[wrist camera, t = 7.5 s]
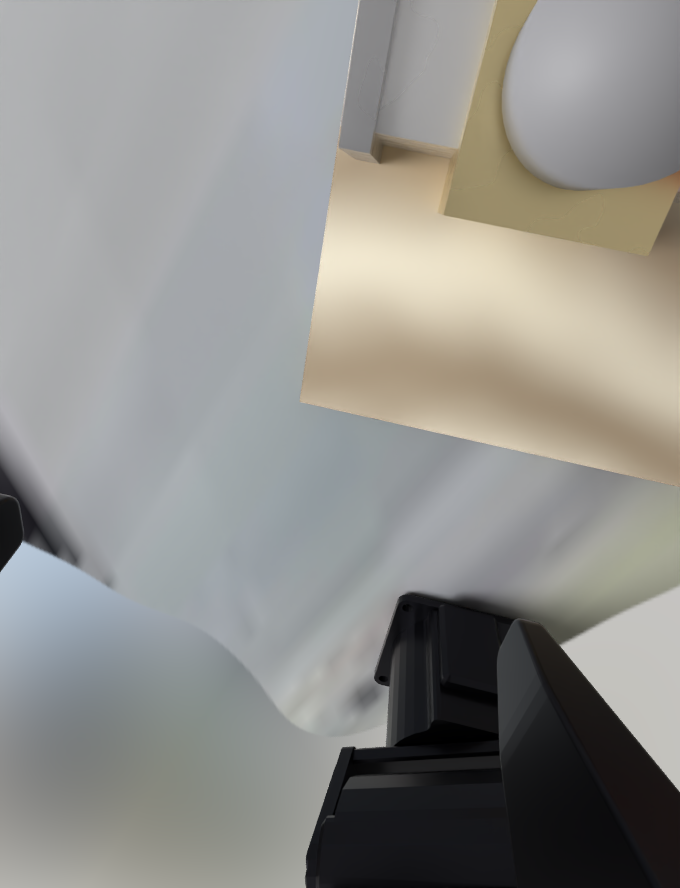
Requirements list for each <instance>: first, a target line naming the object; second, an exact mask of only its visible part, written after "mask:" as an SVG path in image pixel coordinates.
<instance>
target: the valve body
mask: <svg viewBox="0 0 680 888" xmlns="http://www.w3.org/2000/svg"><path fill="white" fill-rule="evenodd" d="M537 1H538V0H359V6H358V13H357V19H356V26H355V33H354V40H353V46H352V53H351V60H350V66H349V73H348V80H347V87H346V93H345V100H344V107H343V114H342V120H341V132H340V139H339V146H338V148H340V149H341V150H342V151H344V152H345V153H347V154H348V155H350V156H351V157H352V158H354V159H356V160H361V161H366V162H372V163H377V164H380V160H381V155H382V149H383V146H388V147H393V148H398V149H404V150H409V151H414V152H419V153H424V154H429V155H434V156H439V157H444V158H449V159H450V163H449V167H448V171H447V175H446V179H445V183H444V187H443V191H442V195H441V199H440V204H439V208H438V212H437V213H439V214H442V215H445V216H450V217H454V218H459V219H464V220H469V221H474V222H479V223H484V224H489V225H494V226H499V227H504V228H509V229H514V230H519V231H524V232H529V233H534V234H539V235H544V236H549V237H554V238H559V239H564V240H569V241H574V242H579V243H583V244H588V245H593V246H598V247H603V248H608V249H613V250H618V251H623V252H628V253H633V254H638V255H643V256H648V255H649V253H650V251H651V249H652V246H653V244H654V242H655V240H656V238H657V235H658V233H659V231H660V229H661V227H662V224H663V222H664V220H665V218H666V216H667V213H668V211H669V209H670V207H671V205H672V202H674V203H679V204H680V170H679V171H677V172H676V173H674V174H671V175H669V176H667V177H664V178H662V179H660V180H657V181H654V182H650V183H647V184H644V185H638V186H633V187H626V188H613V189H600V190H585V191H574V190H565V189H561V188H557V187H554V186H551V185H549V184H547V183H545V182H543V181H541V180H540V179H538V178H537V177H535V176H534V175H532V174H531V173H530V172H529V171H528V170H527V169H526V168H525V167H524V166H523V165H522V163H521V162H520V161H519V160H518V158H517V156H516V155H515V153H514V151H513V150H512V148H511V145H510V143H509V140H508V138H507V135H506V131H505V127H504V123H503V115H502V88H503V80H504V75H505V70H506V65H507V62H508V59H509V56H510V53H511V50H512V47H513V45H514V43H515V41H516V38H517V36H518V34H519V32H520V30H521V28H522V27H523V25H524V23H525V21H526V20H527V18H528V16H529V14H530V13H531V11H532V9H533V8H534V6H535V4H536V3H537Z"/></svg>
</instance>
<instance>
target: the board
mask: <svg viewBox="0 0 680 888" xmlns="http://www.w3.org/2000/svg"><path fill="white" fill-rule="evenodd" d="M358 6H359V4H358ZM357 13H358V10H357ZM356 19H357V17H356ZM355 26H356V24H355ZM354 33H355V31H354ZM353 40H354V37H353ZM352 46H353V44H352ZM351 53H352V51H351ZM350 60H351V58H350ZM349 66H350V64H349ZM348 73H349V71H348ZM347 80H348V78H347ZM346 87H347V85H346ZM345 93H346V92H345ZM344 100H345V98H344ZM343 107H344V105H343ZM342 114H343V112H342ZM341 120H342V119H341ZM340 132H341V125H340ZM340 132H339V139H340ZM339 139H338V146H339ZM338 146H337V152H336V159H335V166H334V173H333V179H332V186H331V193H330V200H329V206H328V213H327V220H326V227H325V233H324V240H323V247H322V254H321V260H320V267H319V274H318V281H317V287H316V294H315V301H314V308H313V314H312V321H311V328H310V335H309V341H308V348H307V355H306V362H305V368H304V375H303V382H302V389H301V395H300V402H302V403H307V404H311V405H316V406H320V407H325V408H329V409H334V410H338V411H343V412H347V413H352V414H356V415H361V416H365V417H370V418H374V419H379V420H383V421H387V422H392V423H396V424H401V425H405V426H410V427H414V428H419V429H423V430H428V431H432V432H437V433H441V434H446V435H450V436H455V437H459V438H463V439H468V440H472V441H477V442H481V443H486V444H490V445H495V446H499V447H504V448H508V449H513V450H517V451H522V452H526V453H531V454H535V455H540V456H544V457H548V458H553V459H557V460H562V461H566V462H571V463H575V464H580V465H584V466H589V467H593V468H598V469H602V470H607V471H611V472H616V473H620V474H625V475H629V476H633V477H638V478H642V479H647V480H651V481H656V482H660V483H665V484H669V485H674V486H678V487H680V204H679V203H674V202H672V205H671V207H670V209H669V211H668V213H667V216H666V218H665V220H664V222H663V224H662V227H661V229H660V231H659V233H658V235H657V238H656V240H655V242H654V244H653V246H652V249H651V251H650V253H649V255H648V256H643V255H638V254H633V253H628V252H623V251H618V250H613V249H608V248H603V247H598V246H593V245H588V244H583V243H579V242H574V241H569V240H564V239H559V238H554V237H549V236H544V235H539V234H534V233H529V232H524V231H519V230H514V229H509V228H504V227H499V226H494V225H489V224H484V223H479V222H474V221H469V220H464V219H459V218H454V217H450V216H445V215H442V214H439V213H437V212H438V208H439V204H440V199H441V195H442V191H443V187H444V183H445V179H446V175H447V171H448V167H449V163H450V159H449V158H444V157H439V156H434V155H429V154H424V153H419V152H414V151H409V150H404V149H398V148H393V147H388V146H383V149H382V155H381V160H380V164H377V163H372V162H366V161H361V160H356V159H354V158H352V157H351V156H350V155H348V154H347V153H345V152H344V151H342V150H341V149H340V148H338Z"/></svg>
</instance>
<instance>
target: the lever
mask: <svg viewBox="0 0 680 888" xmlns="http://www.w3.org/2000/svg"><path fill="white" fill-rule="evenodd" d="M502 115H503V123H504V127H505V131H506V135H507V138H508V140H509V143H510V145H511V148H512V150H513V151H514V153H515V155H516V156H517V158H518V160H519V161H520V162H521V163H522V165H523V166H524V167H525V168H526V169H527V170H528V171H529V172H530V173H531V174H532V175H534V176H535V177H537V178H538V179H540V180H541V181H543V182H545V183H547V184H549V185H551V186H554V187H557V188H561V189H565V190H574V191H585V190H600V189H613V188H626V187H633V186H638V185H644V184H647V183H650V182H654V181H657V180H660V179H662V178H664V177H667V176H669V175H671V174H674V173H676V172H677V171H679V170H680V0H538V1H537V3H536V4H535V6H534V8H533V9H532V11H531V13H530V14H529V16H528V18H527V20H526V21H525V23H524V25H523V27H522V28H521V30H520V32H519V34H518V36H517V38H516V41H515V43H514V45H513V47H512V50H511V53H510V56H509V59H508V62H507V65H506V70H505V75H504V80H503V88H502Z"/></svg>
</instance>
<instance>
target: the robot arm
mask: <svg viewBox="0 0 680 888" xmlns="http://www.w3.org/2000/svg"><path fill="white" fill-rule="evenodd" d="M23 537H24V529H23V523H22V517H21V512H20V506H19V502H18V501H17V499H16V498H14V497H12V496H9V495H4V494H0V572H1V570H2V569H3V568H4V566H5V565H6V564H7V563H8V561H9V560H10V559H11V557H12V556H13V554H14V553H15V552H16V551H17V549H18V548H19V546H20V545H21V543H22V540H23ZM405 604H409V605H410V606H406V605H405ZM374 679H375V681H376V682H377V683H378V684H381V685H385V686H389V704H388V721H387V739H386V747H376V748H362V749H356V748H355V747H343V748H342V749H341V752H340V755H339V758H338V762H337V764H336V767H335V769H334V772H333V775H332V779H331V781H330V784H329V787H328V790H327V793H326V796H325V799H324V803H323V806H322V809H321V812H320V815H319V818H318V821H317V824H316V827H315V830H314V833H313V836H312V839H311V842H310V845H309V848H308V851H307V855H306V868H307V870H306V876H305V884H306V888H680V792H679V791H678V789H677V788H676V787H675V786H674V784H673V783H672V782H671V781H670V780H669V778H668V777H667V776H666V775H665V773H664V772H663V771H662V770H661V769H660V767H659V766H658V765H657V764H656V763H655V761H654V760H653V759H652V758H651V756H650V755H649V754H648V753H647V752H646V750H645V749H644V748H643V747H642V745H641V744H640V743H639V742H638V741H637V739H636V738H635V737H634V736H633V734H632V733H631V732H630V731H629V730H628V729H627V727H626V726H625V725H624V724H623V722H622V721H621V720H620V719H619V718H618V716H617V715H616V714H615V713H614V711H613V710H612V709H611V708H610V707H609V705H608V704H607V703H606V702H605V701H604V699H603V698H602V697H601V696H600V694H599V693H598V692H597V691H596V689H595V688H594V687H593V686H592V685H591V683H590V682H589V681H588V680H587V679H586V677H585V676H584V675H583V674H582V672H581V671H580V670H579V669H578V668H577V666H576V665H575V664H574V663H573V661H572V660H571V659H570V658H569V657H568V655H567V654H566V653H565V652H564V650H563V649H562V648H561V647H560V646H559V644H558V643H557V642H556V641H555V640H554V638H553V637H552V636H551V635H550V633H549V632H548V631H547V630H546V629H545V627H544V626H543V625H541V624H540V623H537V622H533V621H529V620H525V619H521V618H519V619H516V620H513V619H508V618H504V617H500V616H496V615H492V614H488V613H483V612H479V611H475V610H471V609H467V608H463V607H459V606H454V605H450V604H446V603H442V602H438V601H434V600H429V599H425V598H421V597H417V596H413V595H402V596H400V597H399V599H398V601H397V604H396V607H395V610H394V613H393V616H392V619H391V622H390V625H389V628H388V632H387V635H386V638H385V641H384V644H383V647H382V650H381V653H380V656H379V659H378V662H377V666H376V669H375V675H374Z"/></svg>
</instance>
